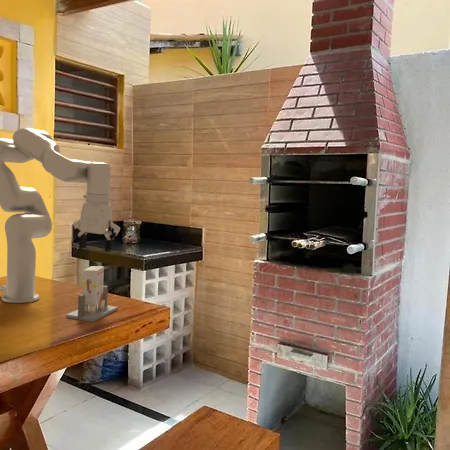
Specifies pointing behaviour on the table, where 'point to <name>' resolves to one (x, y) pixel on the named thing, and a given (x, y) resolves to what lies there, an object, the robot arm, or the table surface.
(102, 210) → the robot arm
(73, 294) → the table surface
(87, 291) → the ink box
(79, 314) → the peg stand
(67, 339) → the table surface
